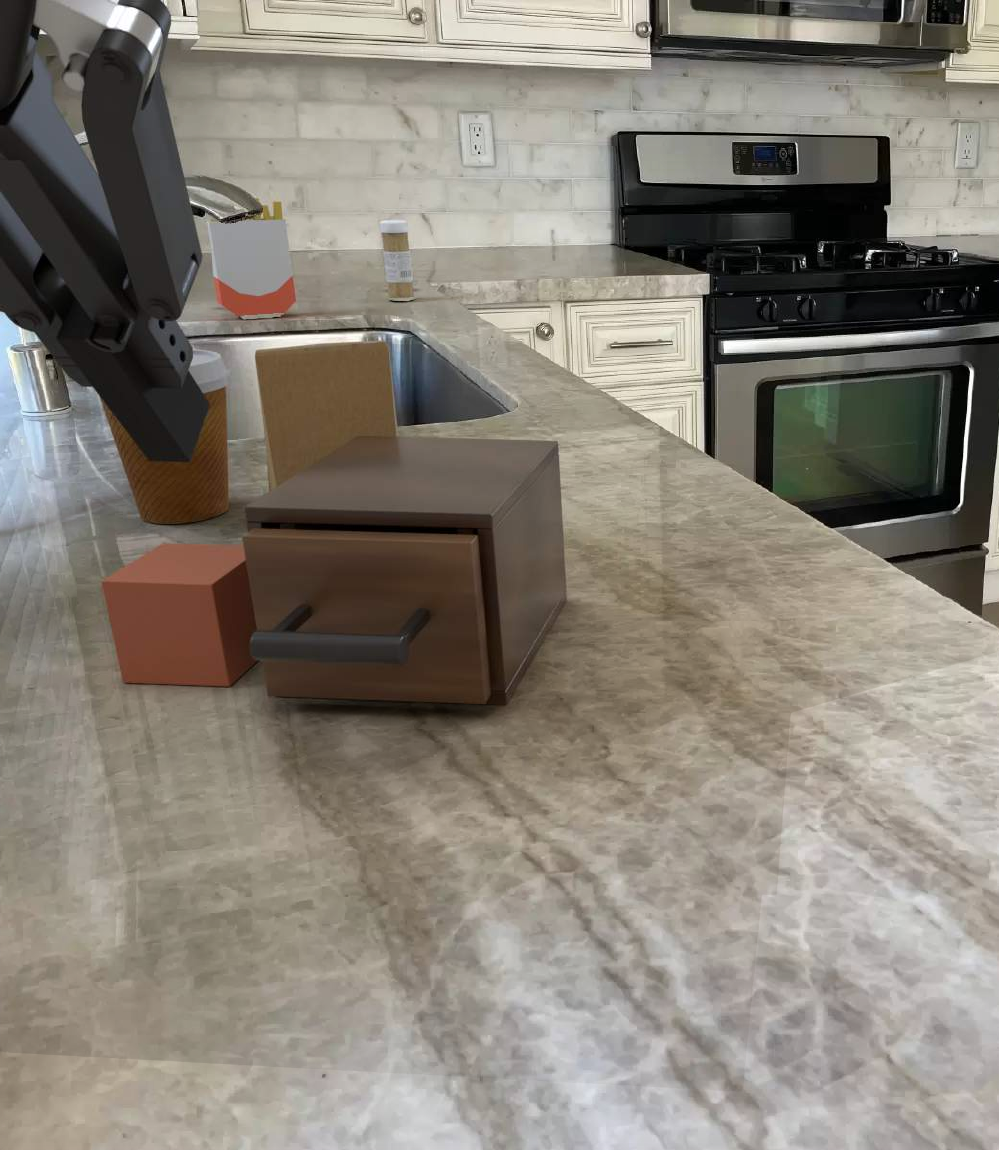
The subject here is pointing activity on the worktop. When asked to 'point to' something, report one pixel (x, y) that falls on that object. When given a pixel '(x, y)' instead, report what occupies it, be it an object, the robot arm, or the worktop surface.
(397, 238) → the sprinkles bottle
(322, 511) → the cabinet
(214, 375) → the disposable coffee cup
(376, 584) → the drawer
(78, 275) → the robot arm
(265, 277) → the french fries container
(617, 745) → the worktop surface
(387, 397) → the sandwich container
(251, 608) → the block
